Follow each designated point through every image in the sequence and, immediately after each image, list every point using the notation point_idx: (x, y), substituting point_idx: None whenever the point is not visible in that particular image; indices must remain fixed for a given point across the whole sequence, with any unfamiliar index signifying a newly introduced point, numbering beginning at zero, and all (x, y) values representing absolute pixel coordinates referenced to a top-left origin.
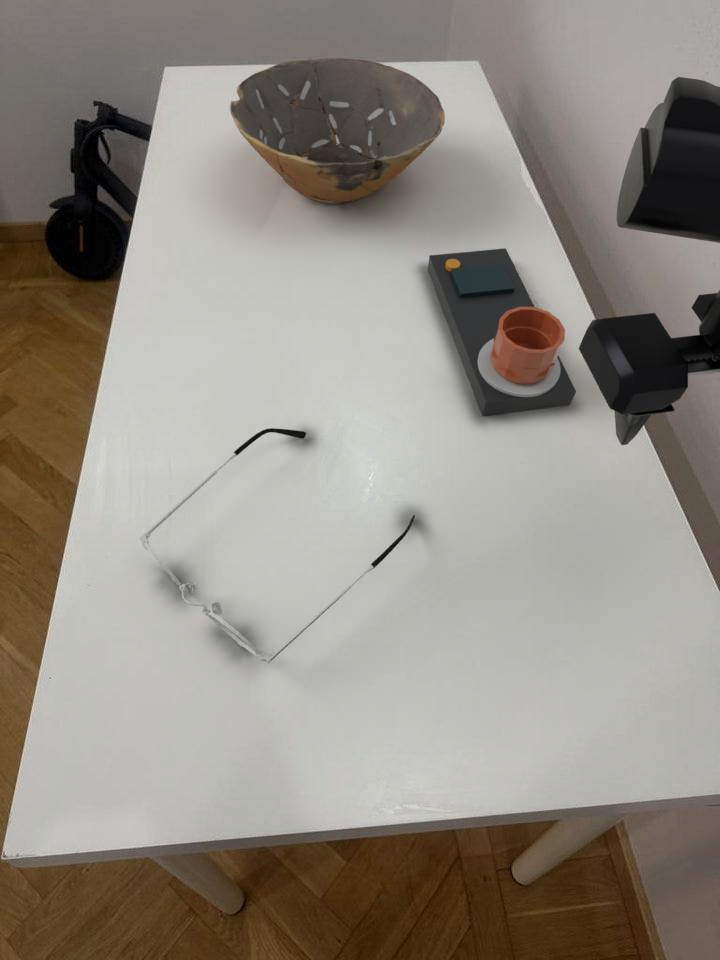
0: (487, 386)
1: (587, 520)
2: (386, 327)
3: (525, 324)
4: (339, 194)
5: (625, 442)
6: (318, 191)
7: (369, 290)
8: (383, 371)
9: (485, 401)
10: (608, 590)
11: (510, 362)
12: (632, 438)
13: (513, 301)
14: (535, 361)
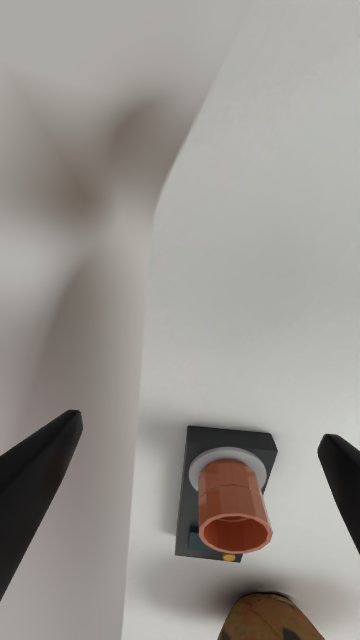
0: (266, 463)
1: (236, 319)
2: (298, 513)
3: (219, 522)
4: (286, 618)
5: (348, 445)
6: (302, 625)
7: (291, 538)
8: (326, 483)
9: (277, 452)
10: (261, 239)
11: (260, 496)
12: (350, 457)
13: (195, 520)
14: (242, 497)
